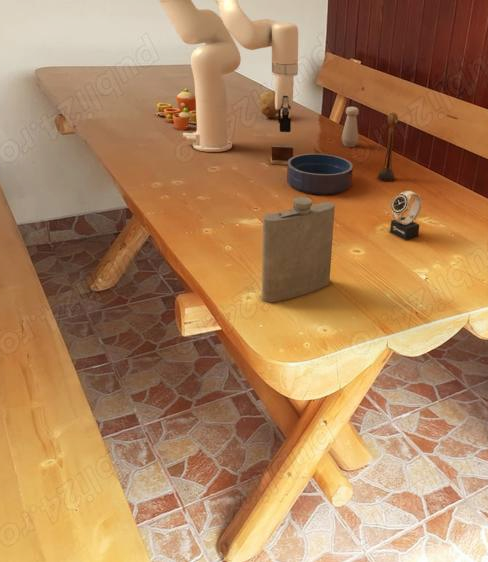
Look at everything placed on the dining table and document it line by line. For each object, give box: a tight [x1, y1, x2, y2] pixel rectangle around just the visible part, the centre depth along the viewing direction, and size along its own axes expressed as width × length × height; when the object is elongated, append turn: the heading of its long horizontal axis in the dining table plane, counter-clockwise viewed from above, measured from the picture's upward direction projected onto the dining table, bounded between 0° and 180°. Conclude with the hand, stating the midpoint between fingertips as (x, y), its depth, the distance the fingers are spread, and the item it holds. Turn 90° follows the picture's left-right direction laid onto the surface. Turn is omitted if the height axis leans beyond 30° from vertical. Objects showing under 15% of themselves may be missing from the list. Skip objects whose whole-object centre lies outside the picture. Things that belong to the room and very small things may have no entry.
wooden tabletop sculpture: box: [377, 112, 401, 183], centre depth 188 cm, size 6×5×20 cm
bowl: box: [286, 153, 354, 196], centre depth 184 cm, size 19×19×6 cm
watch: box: [389, 190, 422, 241], centre depth 156 cm, size 6×8×11 cm
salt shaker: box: [341, 106, 360, 148], centre depth 217 cm, size 6×6×13 cm
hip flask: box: [261, 196, 336, 303], centre depth 126 cm, size 16×4×20 cm, turn 128°
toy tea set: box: [153, 87, 197, 131], centre depth 231 cm, size 26×16×10 cm, turn 30°
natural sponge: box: [259, 90, 279, 119], centre depth 242 cm, size 9×9×10 cm
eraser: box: [270, 142, 294, 166], centre depth 199 cm, size 7×4×6 cm, turn 97°
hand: (284, 127), depth 194 cm, fingers open, 9 cm apart
